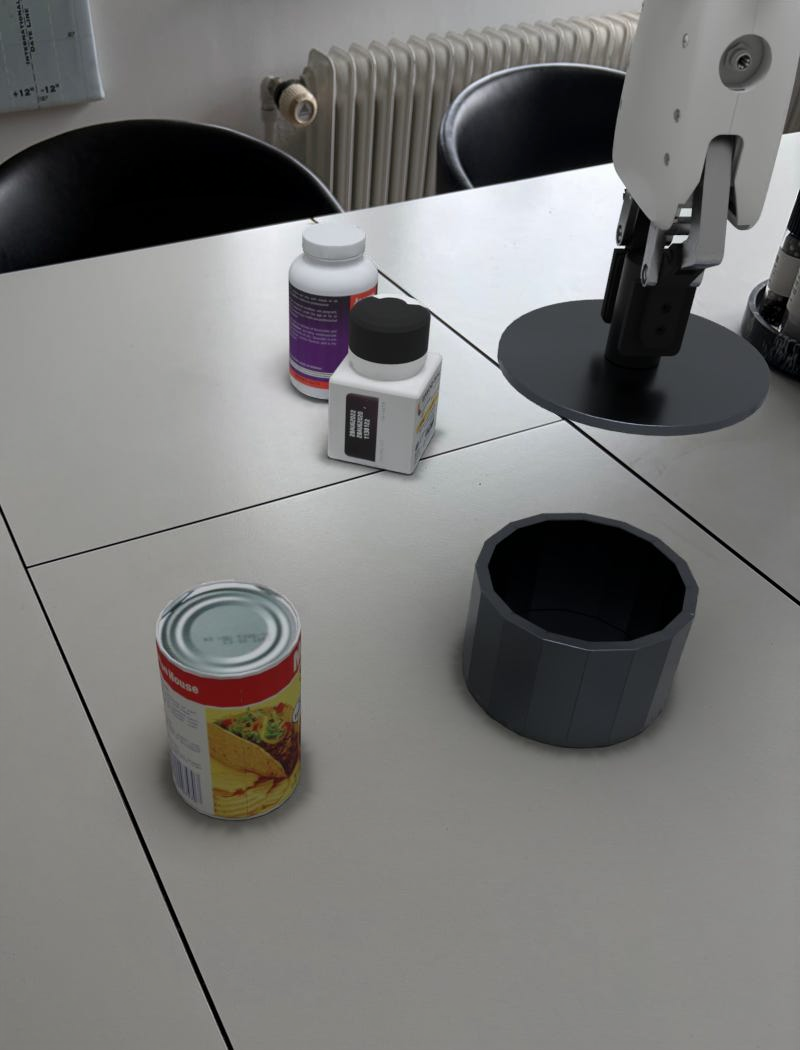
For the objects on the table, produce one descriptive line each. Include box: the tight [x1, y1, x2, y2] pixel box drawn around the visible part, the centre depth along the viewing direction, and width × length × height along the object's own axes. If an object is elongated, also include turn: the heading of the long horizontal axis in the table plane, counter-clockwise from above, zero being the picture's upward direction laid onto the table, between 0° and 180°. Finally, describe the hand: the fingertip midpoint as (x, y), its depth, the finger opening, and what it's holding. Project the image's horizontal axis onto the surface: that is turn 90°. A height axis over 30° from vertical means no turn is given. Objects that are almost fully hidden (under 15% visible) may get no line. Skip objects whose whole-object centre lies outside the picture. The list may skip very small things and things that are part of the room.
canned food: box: [154, 578, 302, 821], centre depth 60 cm, size 8×8×12 cm
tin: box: [461, 512, 700, 749], centre depth 68 cm, size 14×14×8 cm
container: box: [327, 293, 443, 475], centre depth 87 cm, size 8×8×13 cm
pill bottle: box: [287, 221, 379, 400], centre depth 95 cm, size 8×8×14 cm
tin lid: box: [496, 247, 772, 437], centre depth 56 cm, size 15×15×7 cm
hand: (638, 334), depth 56 cm, fingers closed on tin lid, 3 cm apart
